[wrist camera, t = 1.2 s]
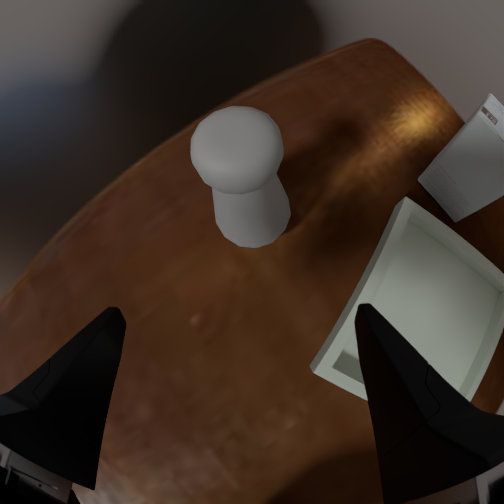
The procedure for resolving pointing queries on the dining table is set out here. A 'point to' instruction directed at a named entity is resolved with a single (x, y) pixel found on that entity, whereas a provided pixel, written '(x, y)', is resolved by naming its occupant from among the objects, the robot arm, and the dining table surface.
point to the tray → (423, 303)
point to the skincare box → (470, 164)
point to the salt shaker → (243, 174)
